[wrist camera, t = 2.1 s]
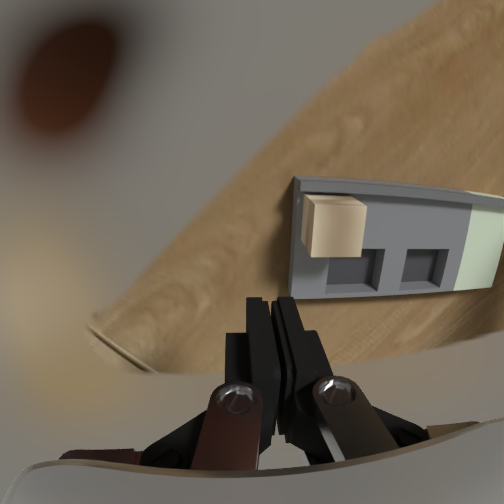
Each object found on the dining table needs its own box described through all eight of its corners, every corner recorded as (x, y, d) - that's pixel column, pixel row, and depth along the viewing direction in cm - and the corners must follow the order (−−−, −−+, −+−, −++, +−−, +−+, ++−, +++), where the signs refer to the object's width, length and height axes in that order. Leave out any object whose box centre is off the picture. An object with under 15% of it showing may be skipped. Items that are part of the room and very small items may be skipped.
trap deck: (501, 196, 28) (517, 202, 25) (482, 280, 32) (496, 290, 29) (294, 175, 27) (300, 181, 24) (287, 289, 31) (292, 304, 28)
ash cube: (349, 195, 26) (367, 206, 22) (344, 239, 27) (360, 256, 23) (303, 193, 25) (314, 204, 22) (300, 239, 27) (310, 257, 23)
